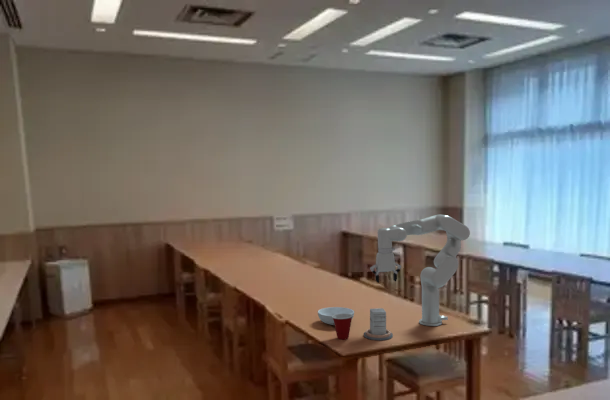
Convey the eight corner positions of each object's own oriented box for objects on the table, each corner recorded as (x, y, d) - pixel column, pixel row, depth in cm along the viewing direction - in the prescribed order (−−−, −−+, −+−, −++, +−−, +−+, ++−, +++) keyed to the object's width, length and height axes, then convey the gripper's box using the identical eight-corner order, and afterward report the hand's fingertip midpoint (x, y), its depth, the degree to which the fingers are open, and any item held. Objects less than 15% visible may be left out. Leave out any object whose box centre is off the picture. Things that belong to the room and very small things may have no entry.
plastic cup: (341, 333, 274) (341, 311, 274) (357, 337, 266) (357, 315, 266) (327, 338, 267) (327, 315, 266) (343, 342, 259) (343, 319, 258)
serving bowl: (357, 319, 301) (357, 307, 300) (350, 329, 281) (350, 317, 280) (322, 317, 306) (322, 305, 306) (313, 327, 286) (313, 314, 286)
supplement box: (369, 331, 273) (369, 308, 272) (383, 331, 273) (383, 308, 273) (372, 336, 265) (372, 312, 265) (386, 335, 266) (386, 311, 265)
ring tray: (389, 331, 277) (389, 327, 277) (395, 340, 262) (395, 335, 262) (361, 331, 276) (361, 327, 276) (366, 340, 261) (366, 336, 261)
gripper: (398, 248, 287) (399, 279, 288) (368, 250, 285) (369, 281, 286) (402, 250, 279) (403, 281, 281) (371, 252, 278) (372, 284, 279)
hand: (386, 281), depth 283 cm, fingers open, 9 cm apart
